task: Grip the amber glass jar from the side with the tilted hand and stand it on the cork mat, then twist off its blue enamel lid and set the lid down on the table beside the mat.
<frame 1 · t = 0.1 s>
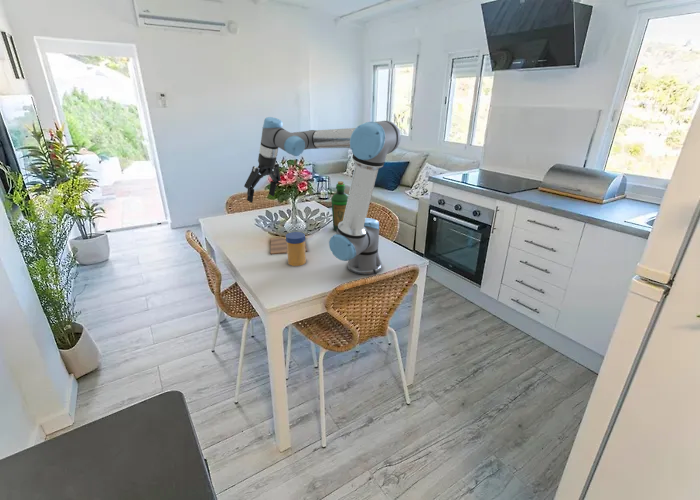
hand: (260, 198, 161), 28 cm above the table, tool tilted 20°, fingers open, 13 cm apart
bottle: (340, 229, 203), on the table
jar: (296, 262, 163), on the table
lid: (295, 236, 158), point 13 cm above the table, screwed on, not yet turned
mat: (288, 245, 181), on the table
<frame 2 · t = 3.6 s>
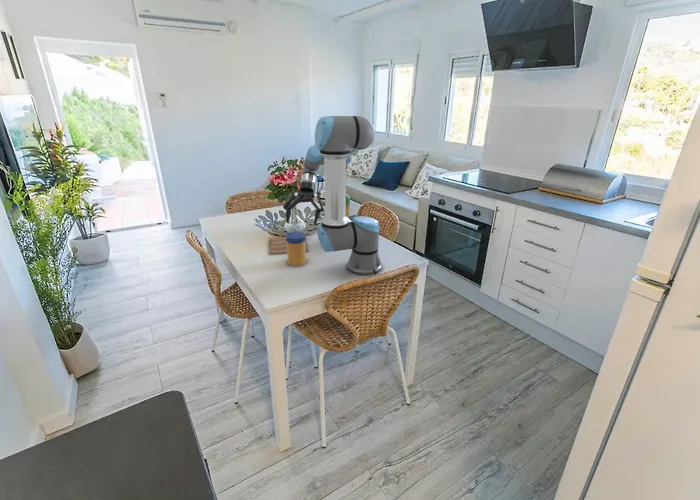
hand: (301, 223, 166), 16 cm above the table, tool tilted 45°, fingers open, 13 cm apart
nothing on the table moved.
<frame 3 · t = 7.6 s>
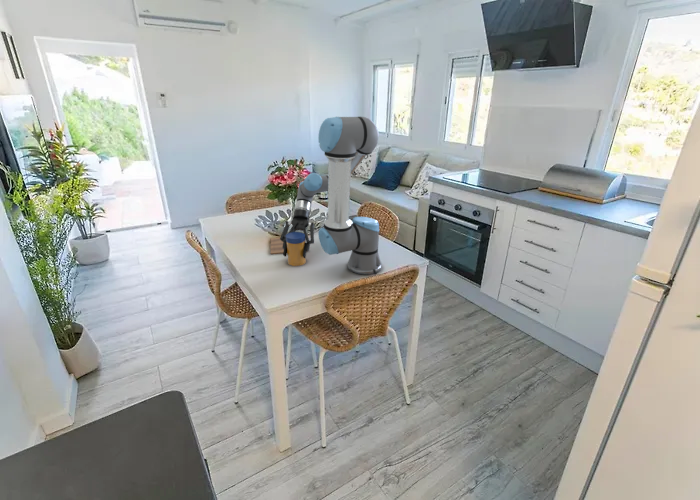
hand: (294, 256, 158), 5 cm above the table, tool tilted 45°, fingers closed on jar, 8 cm apart
jar: (296, 262, 163), on the table, touching gripper
everything else where it was.
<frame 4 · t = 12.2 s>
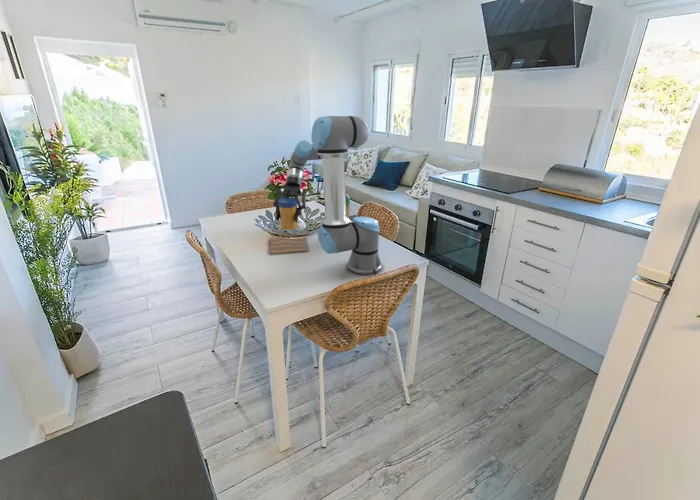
hand: (286, 220, 166), 17 cm above the table, tool tilted 45°, fingers closed on jar, 8 cm apart
jar: (289, 226, 171), point 12 cm above the table, touching gripper
lid: (287, 201, 166), point 25 cm above the table, screwed on, not yet turned
everything else where it was.
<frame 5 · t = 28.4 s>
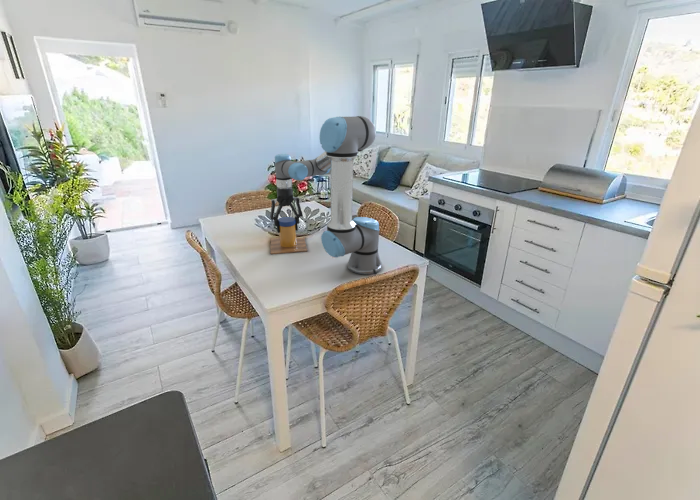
hand: (287, 230, 178), 8 cm above the table, tool pointing down, fingers closed on lid, 9 cm apart
jar: (288, 244, 181), point 1 cm above the table, touching mat
lid: (286, 220, 176), point 14 cm above the table, screwed on, not yet turned, touching gripper
everything else where it was.
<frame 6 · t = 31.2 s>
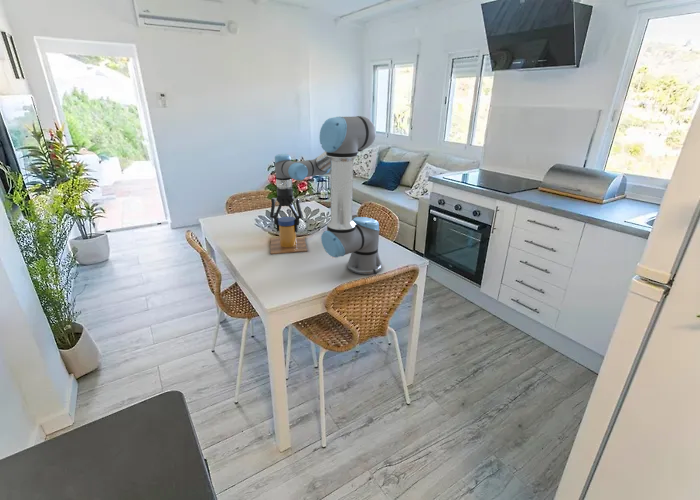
hand: (287, 230, 178), 8 cm above the table, tool pointing down, fingers closed on lid, 9 cm apart
lid: (286, 219, 176), point 14 cm above the table, off its thread, touching gripper
everything else where it was.
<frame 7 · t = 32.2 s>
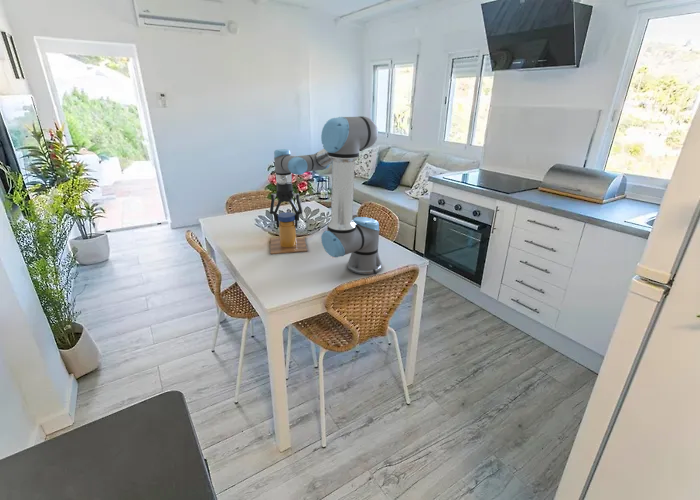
hand: (287, 226, 177), 10 cm above the table, tool pointing down, fingers closed on lid, 9 cm apart
jar: (288, 244, 181), point 1 cm above the table, touching gripper, mat
lid: (286, 215, 175), point 16 cm above the table, off its thread, touching gripper
everything else where it was.
when the fingers open (0 cm above the table, at t = 40.8 s): lid drops 4 cm, point 2 cm above the table.
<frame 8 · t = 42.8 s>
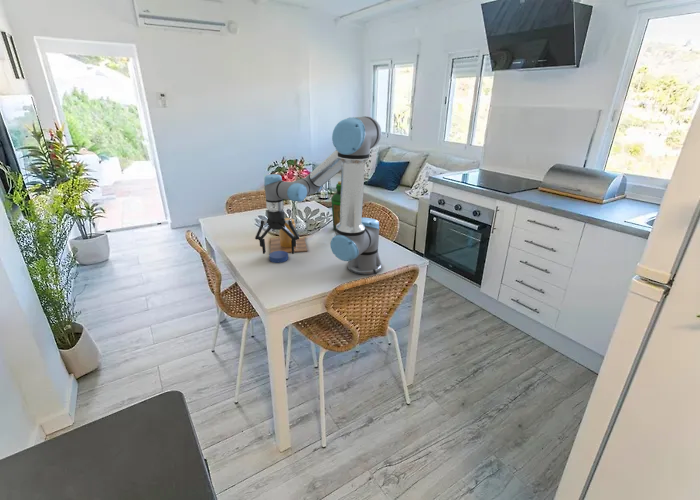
hand: (278, 252, 165), 3 cm above the table, tool pointing down, fingers open, 13 cm apart
jar: (288, 244, 181), point 1 cm above the table, touching mat
lid: (278, 255, 165), point 2 cm above the table, off its thread
everything else where it was.
at the end: jar inside the target area on the mat (0.1 cm from its centre), point 0.6 cm above the mat's base; lid came off its thread; lid point 1.9 cm above the table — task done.
